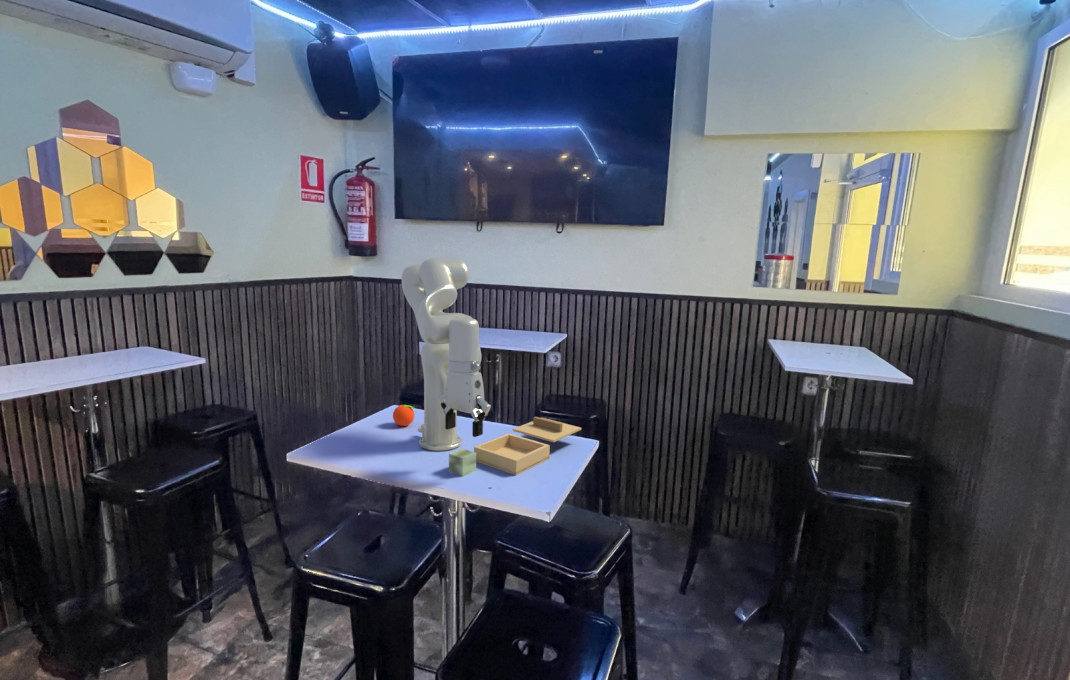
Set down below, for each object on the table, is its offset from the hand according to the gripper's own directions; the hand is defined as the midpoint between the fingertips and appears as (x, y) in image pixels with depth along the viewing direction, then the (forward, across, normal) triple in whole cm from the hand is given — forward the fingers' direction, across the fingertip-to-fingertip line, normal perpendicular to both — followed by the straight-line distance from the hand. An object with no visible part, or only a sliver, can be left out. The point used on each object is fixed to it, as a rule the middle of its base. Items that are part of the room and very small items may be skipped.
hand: (463, 431), depth 135 cm
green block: (+11, +1, 0) cm, 11 cm away
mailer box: (+11, -4, -15) cm, 19 cm away
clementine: (+10, +41, -15) cm, 45 cm away
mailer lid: (+6, -4, -32) cm, 33 cm away
